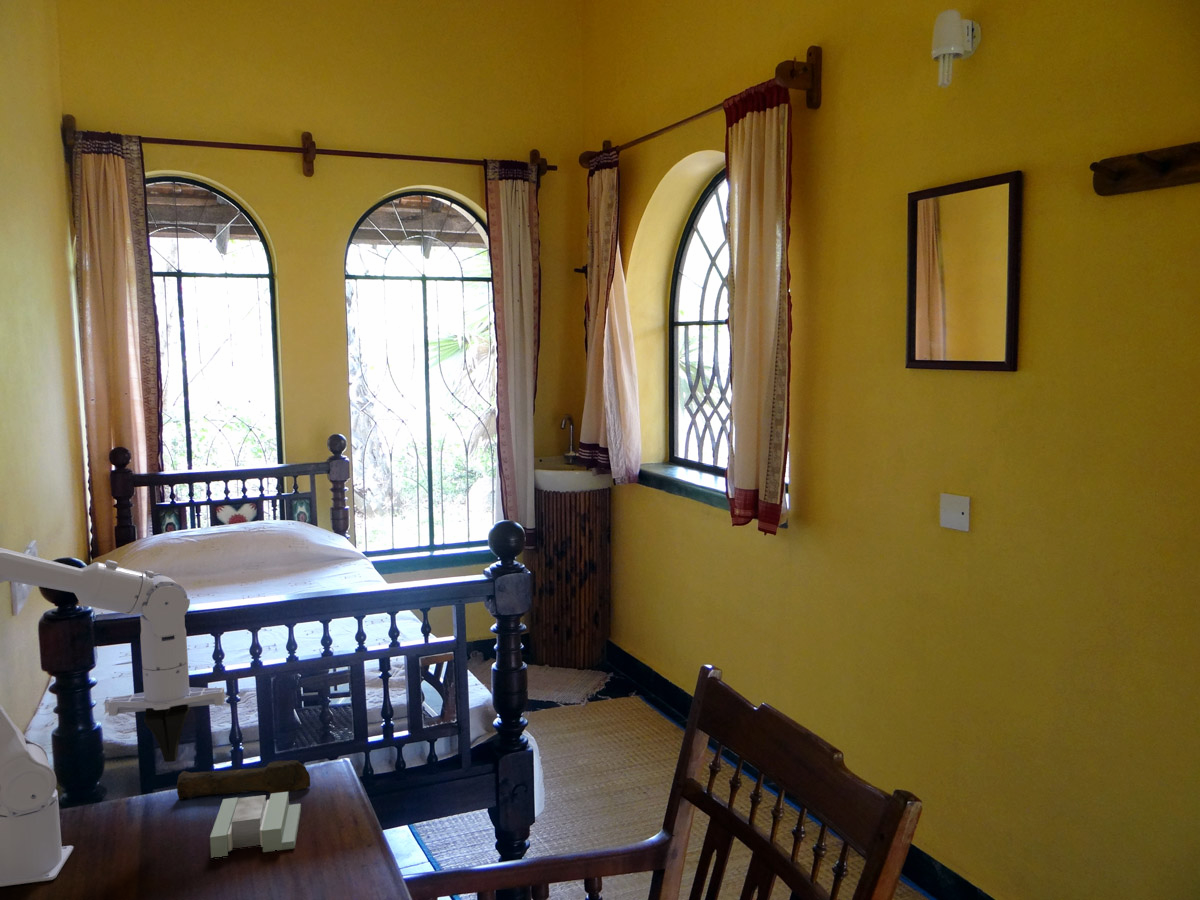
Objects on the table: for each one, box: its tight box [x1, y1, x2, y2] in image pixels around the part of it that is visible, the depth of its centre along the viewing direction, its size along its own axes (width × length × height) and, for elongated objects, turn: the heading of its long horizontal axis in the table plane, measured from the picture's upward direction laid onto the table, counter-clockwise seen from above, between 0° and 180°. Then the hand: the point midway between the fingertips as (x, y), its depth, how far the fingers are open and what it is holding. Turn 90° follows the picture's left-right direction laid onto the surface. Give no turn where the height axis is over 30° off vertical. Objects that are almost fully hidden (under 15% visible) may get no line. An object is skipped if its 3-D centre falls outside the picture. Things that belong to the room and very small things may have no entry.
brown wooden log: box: [176, 759, 311, 801], centre depth 141 cm, size 19×4×5 cm, turn 95°
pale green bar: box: [260, 792, 302, 853], centre depth 130 cm, size 4×11×3 cm, turn 13°
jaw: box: [209, 797, 239, 858], centre depth 128 cm, size 2×11×3 cm, turn 13°
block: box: [231, 794, 267, 849], centre depth 129 cm, size 4×7×4 cm, turn 13°
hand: (171, 758), depth 131 cm, fingers closed
